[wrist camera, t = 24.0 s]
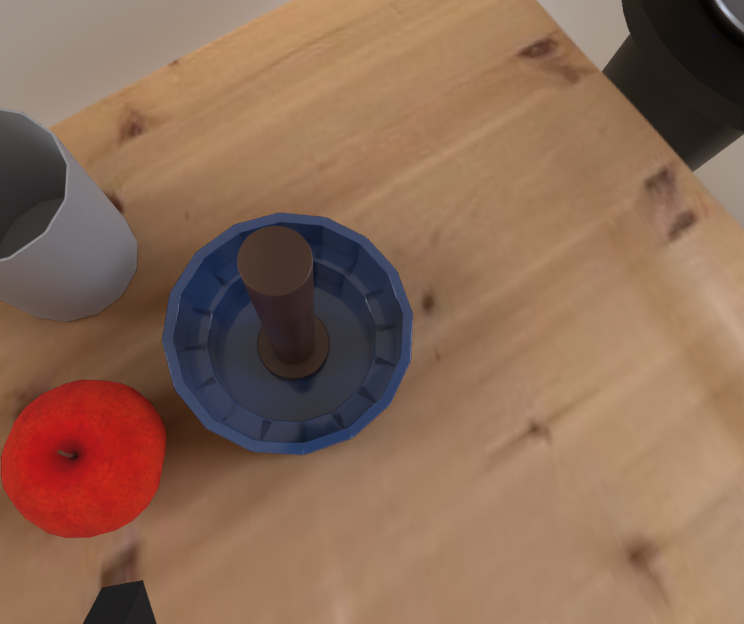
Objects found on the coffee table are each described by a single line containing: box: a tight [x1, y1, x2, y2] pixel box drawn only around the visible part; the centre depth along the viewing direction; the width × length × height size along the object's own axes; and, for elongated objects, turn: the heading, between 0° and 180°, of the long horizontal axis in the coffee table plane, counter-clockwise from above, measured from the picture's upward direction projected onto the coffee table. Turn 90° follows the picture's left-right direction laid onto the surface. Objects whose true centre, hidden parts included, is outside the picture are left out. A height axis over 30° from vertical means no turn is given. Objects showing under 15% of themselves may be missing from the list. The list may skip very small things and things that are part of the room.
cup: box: [0, 108, 137, 322], centre depth 30 cm, size 8×8×10 cm
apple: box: [1, 380, 166, 538], centre depth 28 cm, size 8×8×7 cm
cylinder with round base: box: [237, 226, 330, 381], centre depth 26 cm, size 4×4×16 cm
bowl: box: [162, 213, 413, 455], centre depth 32 cm, size 13×13×6 cm
